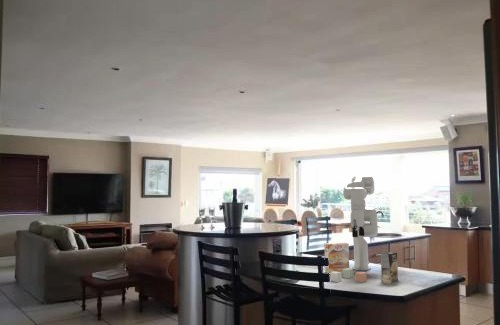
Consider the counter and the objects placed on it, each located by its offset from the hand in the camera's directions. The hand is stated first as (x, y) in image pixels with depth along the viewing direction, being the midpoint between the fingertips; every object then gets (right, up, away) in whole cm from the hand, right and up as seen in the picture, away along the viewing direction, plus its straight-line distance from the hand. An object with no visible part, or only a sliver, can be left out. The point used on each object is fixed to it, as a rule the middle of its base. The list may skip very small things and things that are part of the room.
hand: (358, 236), depth 256 cm
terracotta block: (+1, -27, -2) cm, 27 cm away
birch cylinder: (+14, -26, -10) cm, 31 cm away
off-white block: (-14, -27, 0) cm, 30 cm away
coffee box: (+19, -27, 0) cm, 33 cm away
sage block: (-4, -28, +11) cm, 30 cm away
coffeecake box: (-7, -29, +26) cm, 40 cm away
